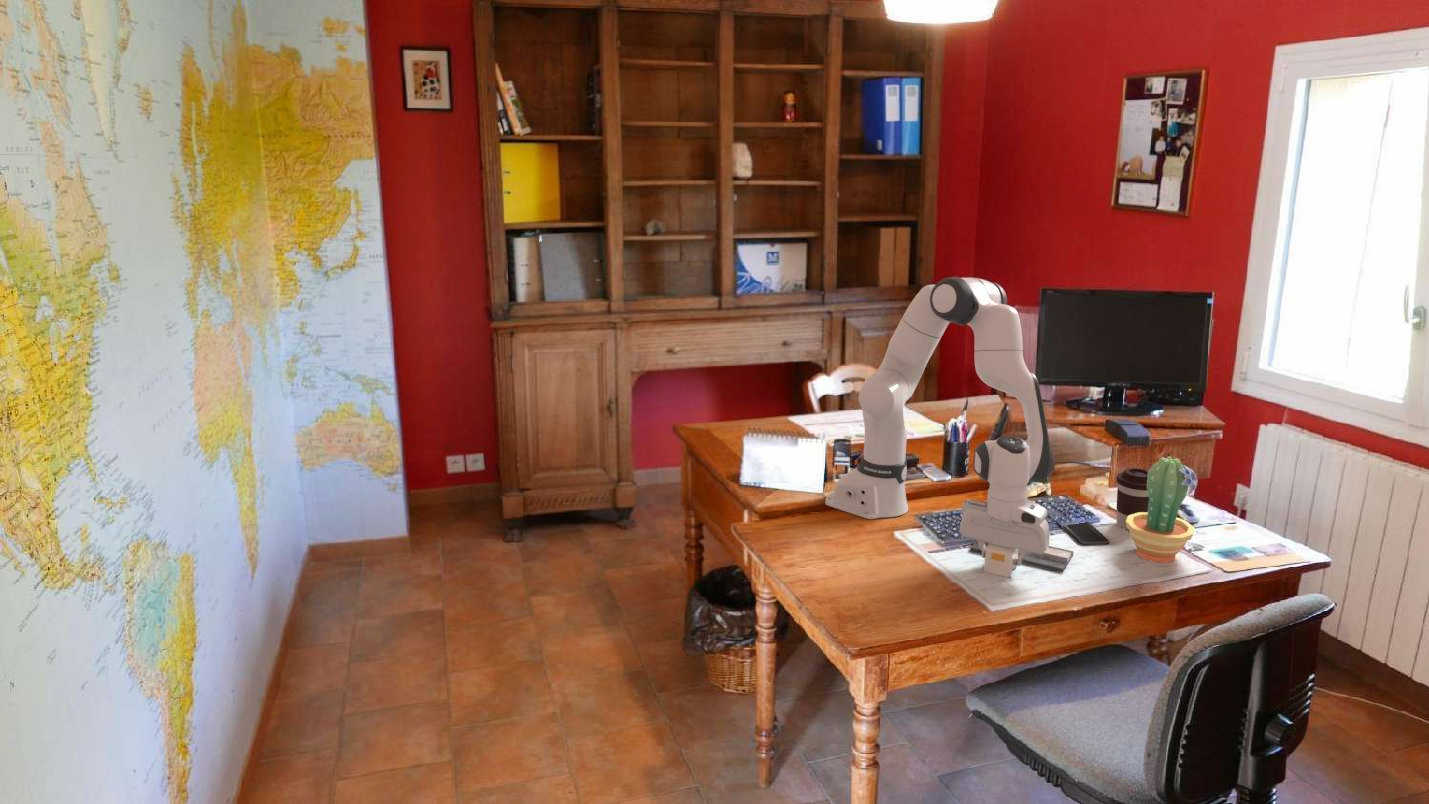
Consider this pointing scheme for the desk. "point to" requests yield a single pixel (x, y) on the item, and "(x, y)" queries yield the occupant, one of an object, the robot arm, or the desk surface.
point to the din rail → (1041, 557)
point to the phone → (1086, 534)
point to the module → (1000, 559)
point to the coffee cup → (1131, 494)
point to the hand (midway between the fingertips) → (1001, 560)
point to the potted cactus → (1163, 512)
